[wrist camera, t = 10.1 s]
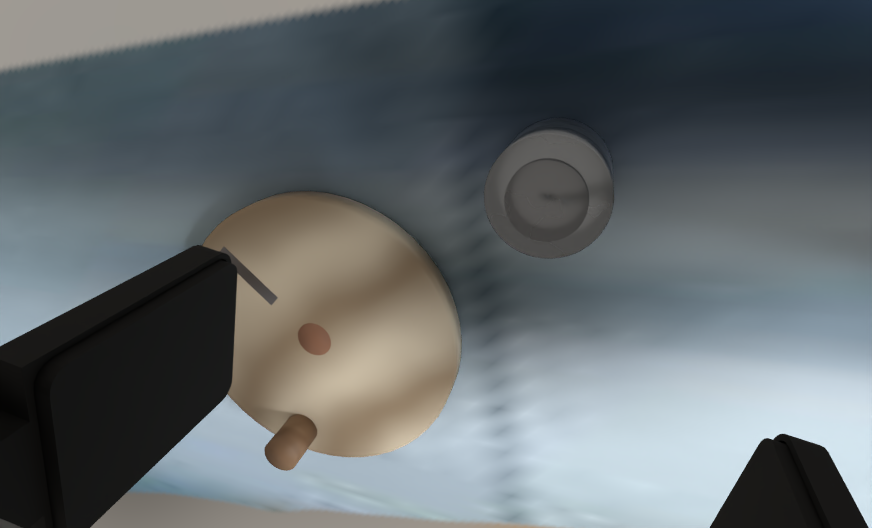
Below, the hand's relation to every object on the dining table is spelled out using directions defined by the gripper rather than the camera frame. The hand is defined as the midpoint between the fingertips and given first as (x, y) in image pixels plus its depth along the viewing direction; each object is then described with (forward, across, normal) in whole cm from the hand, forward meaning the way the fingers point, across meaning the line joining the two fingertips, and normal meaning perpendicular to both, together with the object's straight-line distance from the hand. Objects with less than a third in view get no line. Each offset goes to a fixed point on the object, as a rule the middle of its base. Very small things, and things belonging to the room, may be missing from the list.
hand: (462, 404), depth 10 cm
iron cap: (+18, 0, 0) cm, 18 cm away
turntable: (+18, +10, +12) cm, 24 cm away
